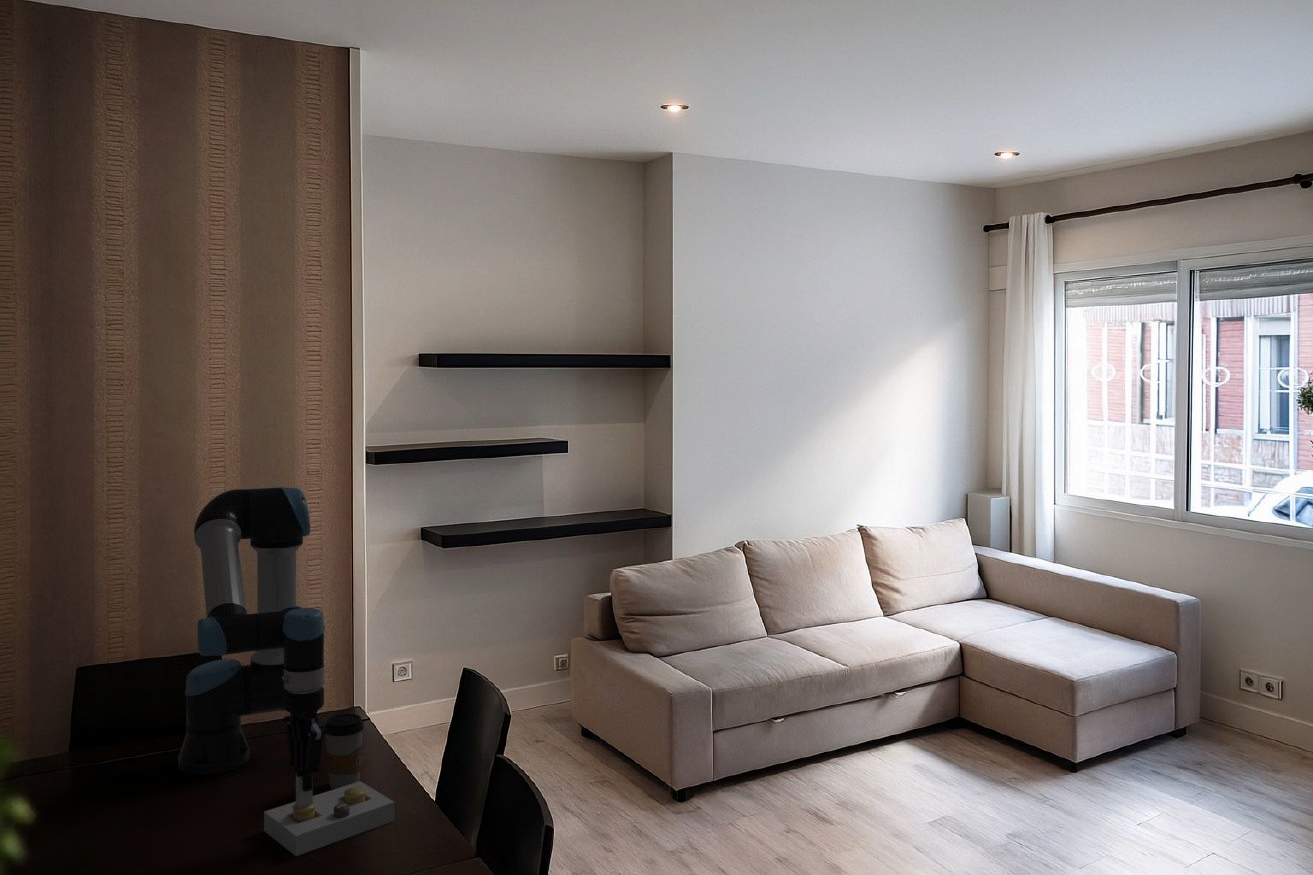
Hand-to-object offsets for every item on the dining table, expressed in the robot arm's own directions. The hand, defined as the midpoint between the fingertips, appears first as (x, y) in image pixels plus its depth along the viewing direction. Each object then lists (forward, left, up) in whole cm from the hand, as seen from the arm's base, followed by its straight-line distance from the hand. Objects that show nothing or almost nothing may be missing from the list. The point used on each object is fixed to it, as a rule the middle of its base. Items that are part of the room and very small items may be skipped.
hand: (304, 804), depth 188 cm
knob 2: (0, +11, -5) cm, 12 cm away
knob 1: (0, 0, -4) cm, 4 cm away
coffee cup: (-16, +17, -7) cm, 24 cm away
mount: (0, +6, -6) cm, 8 cm away
